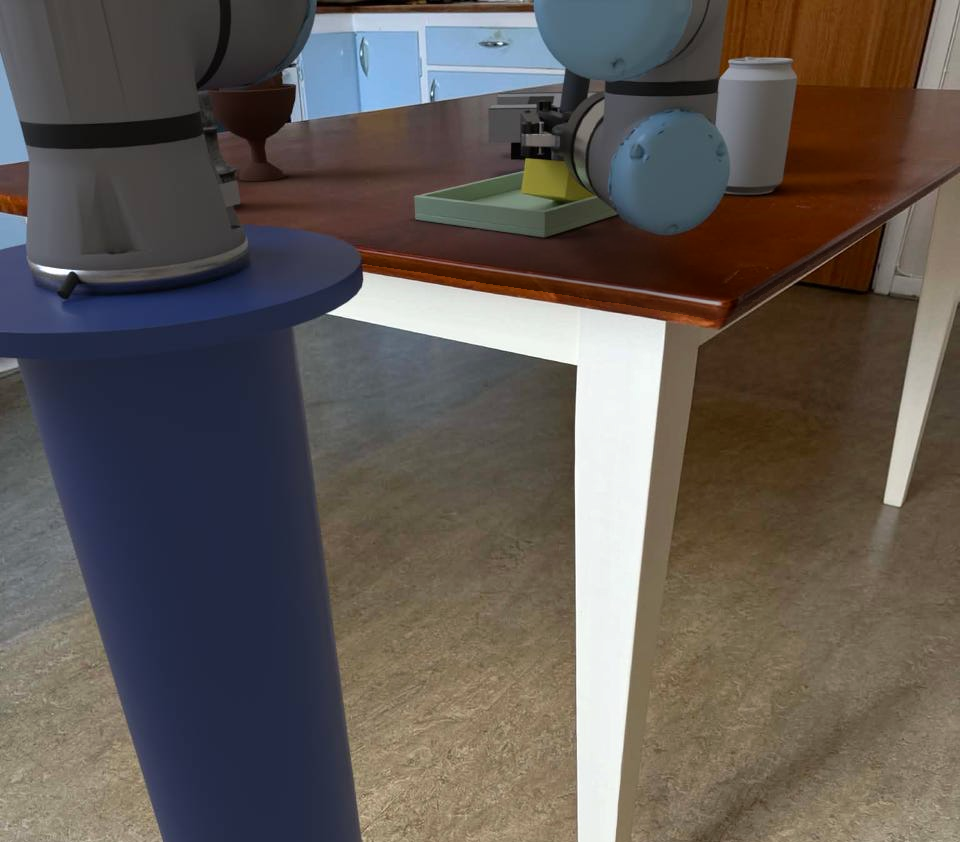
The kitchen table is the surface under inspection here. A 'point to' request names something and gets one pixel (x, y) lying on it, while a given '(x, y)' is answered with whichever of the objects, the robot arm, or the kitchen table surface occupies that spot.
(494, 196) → the tray
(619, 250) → the kitchen table surface
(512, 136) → the game console
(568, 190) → the sponge wand
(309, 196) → the kitchen table surface
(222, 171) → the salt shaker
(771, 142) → the can
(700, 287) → the kitchen table surface
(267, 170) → the ice cream bowl
